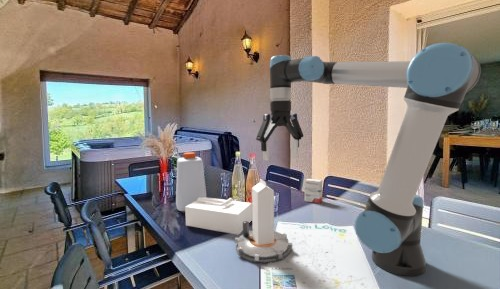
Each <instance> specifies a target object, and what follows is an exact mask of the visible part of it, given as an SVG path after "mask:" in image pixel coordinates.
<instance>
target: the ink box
mask: <svg viewBox="0 0 500 289" xmlns="http://www.w3.org/2000/svg"><path fill="white" fill-rule="evenodd" d="M304 202H307V203H309V202H310V203H314V204H321V203H322V202H323V180H322V179H315V178H314V179H313V178H306V179H305V180H304Z"/></svg>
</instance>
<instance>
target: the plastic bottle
mask: <svg viewBox="0 0 500 289" xmlns="http://www.w3.org/2000/svg"><path fill="white" fill-rule="evenodd" d="M205 180H206V179H205V168H204V162H203V159H202V158H201V157H199V156H196V152H192V151H191V152H190V151H189V152H188V151H187V152H183V157H179V158H177V160H176V187H175V188H176V189H175V190H176V191H175V193H176V194H175V206H176V209H177V210H178V211H179V212H184V213H185V207H186V206H188V205H189V204H191V203H193V202H195V201H197V199H198V198H199V197H200V198H202V197H207V190H206V189H207V188H206V181H205Z"/></svg>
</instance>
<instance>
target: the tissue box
mask: <svg viewBox="0 0 500 289" xmlns="http://www.w3.org/2000/svg"><path fill="white" fill-rule="evenodd" d="M184 213H185V214H184V215H185V226H186V227H192V228H193V227H194V228H200V229H204V230H210V231H215V232H222V233H226V234H227V233H228V234H233V235H240V234H241V233H243V222H244V221H248V222H249V223H250V222H251V221H252V202H248V201H247V202H246V201H239V200H234V199H233V198H232V197H229V198H227V199H223V198H215V197H207V196H206V197H202V198H200V197H199V198H198V199H197V201H195V202H193V203H191V204H189V205H188V206H186V207H185V212H184ZM251 223H252V222H251ZM251 223H250V224H251Z"/></svg>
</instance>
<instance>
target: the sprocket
mask: <svg viewBox="0 0 500 289" xmlns="http://www.w3.org/2000/svg"><path fill="white" fill-rule="evenodd" d="M237 243H238V248H237V251H236V254H237V255H238V254H241V253H242V254H244V255H246V256H248V257H251V258H255V260H256V261H259V259H271V258H276V257H277V258H278V259H280V258H282V255H283V254H285V253H286V252H287V250H288V249H290V250H293V242H289V239H288V234H286V233H285V232H284V233H281V232H278V231H275V230H274V243H270V244H264V245H259V246H258V245H257V243H256V242H255V241H254V239H253V230H250V224H249V222H248V221H244V222H243V231H242V234H241V235H240V236H239V237H236V236H235V238H234V244H237Z"/></svg>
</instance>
